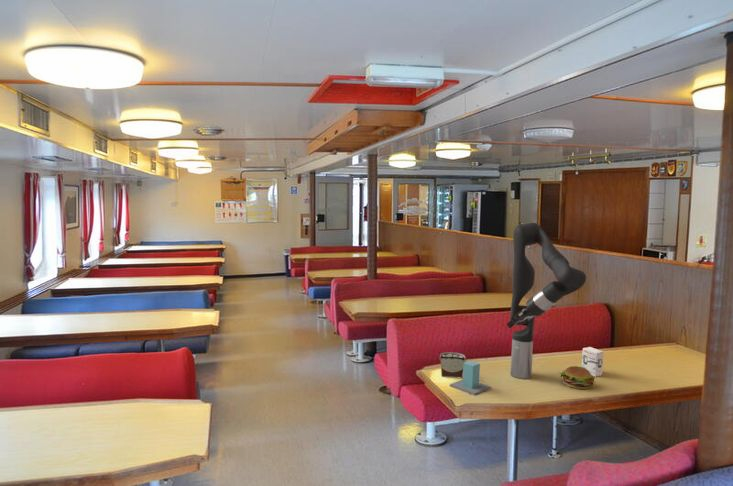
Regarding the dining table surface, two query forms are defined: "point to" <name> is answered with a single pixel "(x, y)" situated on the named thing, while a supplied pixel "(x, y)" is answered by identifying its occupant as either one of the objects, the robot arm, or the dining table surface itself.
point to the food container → (452, 364)
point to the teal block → (471, 374)
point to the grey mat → (472, 391)
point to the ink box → (592, 360)
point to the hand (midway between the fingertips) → (513, 324)
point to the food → (577, 377)
